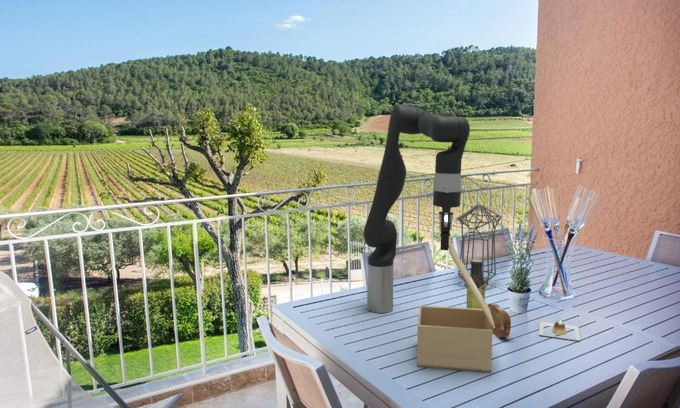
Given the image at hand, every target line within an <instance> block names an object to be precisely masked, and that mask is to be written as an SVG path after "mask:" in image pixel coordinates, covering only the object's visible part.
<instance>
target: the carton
mask: <svg viewBox="0 0 680 408" xmlns="http://www.w3.org/2000/svg"><path fill="white" fill-rule="evenodd" d="M416 331H417V335H416V336H417V341H416V342H417V343H416V344H417V345H416V347H417V348H416V367H418V368H419V367H420V368H429V369H430V368H431V369H444V370H456V371H470V372H480V371H482V373H491V372H492V354H493V352H492V350H493V334H494V333H493V330H492V326H491V323H490V322H489V320H488V318H487V317H486V315H485V313H484V312H483V310H482V309H473V308H467V307H451V306H434V305H419V308H418V317H417V330H416Z"/></svg>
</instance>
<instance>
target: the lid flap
mask: <svg viewBox="0 0 680 408" xmlns="http://www.w3.org/2000/svg"><path fill="white" fill-rule="evenodd" d="M448 253H449V255H450V256H451V258H452V260H453V262H454V263H455V265H456V267H457V269H458V272H459V271H460V273H461V274H462V276H463V277H464V279H465V281H466V282H467V284H468V286H469V288H470V289H471V291H472V293H473V294H474V296H475V298H476V300H477V301H478V303H479V305H480V306H481V308H482V310H483V312H484V313H485V315H486V317H487V318H488V320H489V322H490V323H491V325H492V327H493V329H494V328H495V325H494V322H493V319H492V315H491V312H490V309H489V307H488V305H489V304H487V302H486V299H485V300H484V298H483V297H482V295H481V293H480V291H479V290H478V288H477V286H476V285H475V283H474V281H473V280H472V278H471V276H470V274H471V273H470V272H468V271H469V270H467V269H468V268H467V269H466V265H465V264H464V261H463V262H462V258H461V259H460V255H459V254H458V252H457V250H456V249H455V247H454V246H453V244H452V242H451V240H450V239H449V247H448ZM465 281H464V282H465Z"/></svg>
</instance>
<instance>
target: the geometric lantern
mask: <svg viewBox="0 0 680 408" xmlns="http://www.w3.org/2000/svg"><path fill="white" fill-rule="evenodd" d="M479 212H480V214H479ZM491 213H492V214H494V215H492V214H491ZM469 215H471V216H470V218H469V219H468V216H469ZM473 217H474V218H475V221H471V220H472V218H473ZM479 217H481V218H479ZM483 217H485V219H486V221H483ZM501 219H502V215H500V214H498V213H496V212H495V211H493V210H491V209H489V208H487V207H485V206H484V205H482V204H480V203H479V204H475V205H474V206H473V207H471V208H470V209H469V210H467V211H466V212H464V213H463V214H461V215H459V216H458V217H456V218H455V220H456V221H458V222H460V225H461V238H462V239H461V246H460V247H461V249H460V255H459V257H460V259H461V261H462V262H463V263H464V257H465V255H464V254H465V240H466V239H468V244H467V253H466V260H465V262H466V264H465V268H466V269H467V271H471V268H468V261H469V253H470V243H471V240H472V249H471V251H472V253H471V260H474V250H475V240H478V241H482V259H481V260H482V261H483V265H482V274H483V275H484V273H487V277H484V280H485V288H486V287H487V286H488V285H489V281H491V280H492V279H493V278H494V277H495V276H496V275H497V273H496V272H497V271H496V270H497V267H496V264H497V263H496V242H495V241H496V239H495V234H496V228H497V227H498V224H499V222H500V220H501ZM470 224H474V227H470ZM476 224H477V225H476ZM491 224H492V227H491ZM463 225H464V226H466V228H468V229H469V230H468V231H467V232H466V233H464V230H463V227H464V226H463ZM486 225H488V226H489V229H490V230H491V231H490V233H489V232H480V231H479V230H478V229H480V228H482V227H484V226H486ZM472 230H473V231H472ZM475 233H476V234H478V235H479V236H480V238H475ZM471 234H473V235H472V237H471ZM482 234H483V235H489V236H488V237H487V238H486V239H485V238H483V236H482ZM467 235H468V236H467ZM490 239H491V264H490V259H489V257H490V254H489V250H490V249H489V240H490ZM485 241H486V253H487V254H486V256H487V258H486V259H487V270H484V268H485V267H484V265H485V264H484V263H485V261H484V260H485V259H484V258H485V255H484V253H485ZM490 265H491V266H490ZM493 265H494V266H493ZM490 267H491V268H490ZM493 267H494V271H493ZM457 274H458V275H457V276H458V277H459V278H460V279H461V280H462V281H463V282H464V284H463V285H464V287H467V282H466V281H465V279H464V277H463V276H462V274H461V272H460V271H459V270H458V273H457ZM491 274H493V275H491ZM490 275H491V276H490Z"/></svg>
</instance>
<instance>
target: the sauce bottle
mask: <svg viewBox="0 0 680 408" xmlns="http://www.w3.org/2000/svg"><path fill="white" fill-rule="evenodd" d="M482 265H483V261H482V259H476V258H475V259H474V258H473V260H472V259H471V260H470V269H471V270H470V273H469V274H470V276H471V278H472V280H473V281H474V283H475V285H476V286H477V288H478V290H479V291H480V293H481V295H482V297H483V298H484V300H485V301H486V287H485V286H486V283H485V280H486V279H484V278H485V276H484V273H483V274H482ZM466 308H473V309H482V308H481V306H480V305H479V303H478V301H477V300H476V298H475V296H474V294H473V293H472V291H471V289H470V288H469V286H468V284H467V286H466Z"/></svg>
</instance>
